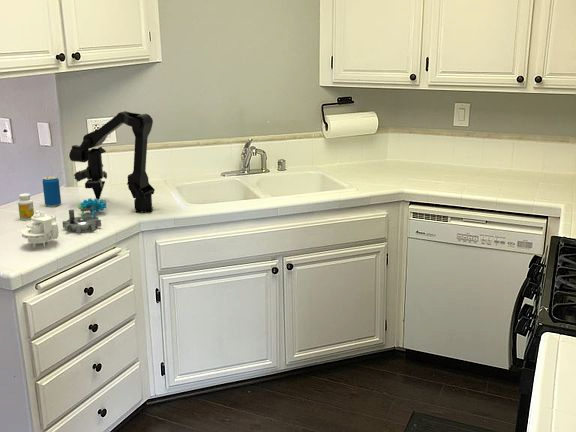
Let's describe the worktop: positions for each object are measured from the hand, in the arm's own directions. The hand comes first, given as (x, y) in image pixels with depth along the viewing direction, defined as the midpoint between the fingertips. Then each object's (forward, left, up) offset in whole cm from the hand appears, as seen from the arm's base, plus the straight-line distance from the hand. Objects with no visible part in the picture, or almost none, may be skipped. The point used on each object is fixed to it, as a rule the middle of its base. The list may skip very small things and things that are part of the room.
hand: (98, 199), depth 272 cm
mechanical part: (+12, +48, -3) cm, 49 cm away
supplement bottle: (+25, +16, -3) cm, 30 cm away
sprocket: (+1, +31, -3) cm, 31 cm away
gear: (0, +12, -3) cm, 13 cm away
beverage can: (+19, -2, -3) cm, 19 cm away
